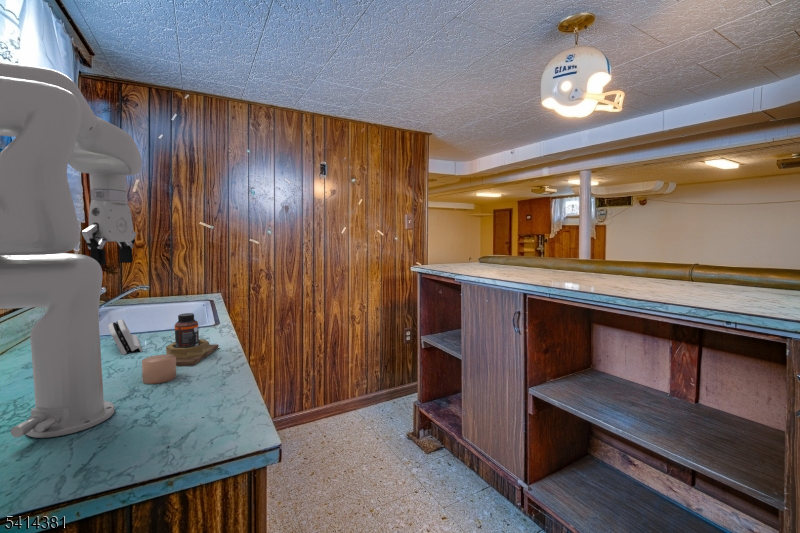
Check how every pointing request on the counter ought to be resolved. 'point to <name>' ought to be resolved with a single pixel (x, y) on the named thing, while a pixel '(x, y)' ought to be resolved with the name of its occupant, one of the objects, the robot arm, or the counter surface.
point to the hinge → (124, 337)
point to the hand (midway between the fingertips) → (113, 263)
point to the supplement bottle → (186, 331)
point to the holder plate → (195, 359)
